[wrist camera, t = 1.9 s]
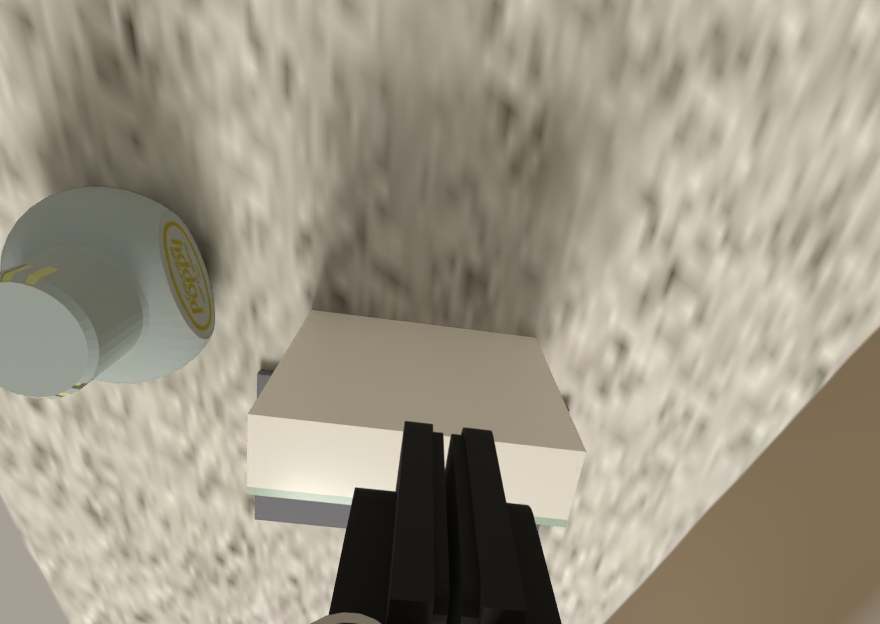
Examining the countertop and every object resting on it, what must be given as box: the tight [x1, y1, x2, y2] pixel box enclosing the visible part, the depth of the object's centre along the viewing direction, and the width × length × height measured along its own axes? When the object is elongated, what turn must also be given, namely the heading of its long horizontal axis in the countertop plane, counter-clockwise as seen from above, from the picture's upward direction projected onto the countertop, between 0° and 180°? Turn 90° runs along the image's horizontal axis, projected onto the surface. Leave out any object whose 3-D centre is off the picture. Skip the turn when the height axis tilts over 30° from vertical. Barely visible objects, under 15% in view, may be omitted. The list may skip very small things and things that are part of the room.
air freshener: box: [0, 187, 215, 399], centre depth 27 cm, size 11×8×10 cm
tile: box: [247, 310, 586, 527], centre depth 28 cm, size 4×14×12 cm, turn 82°
